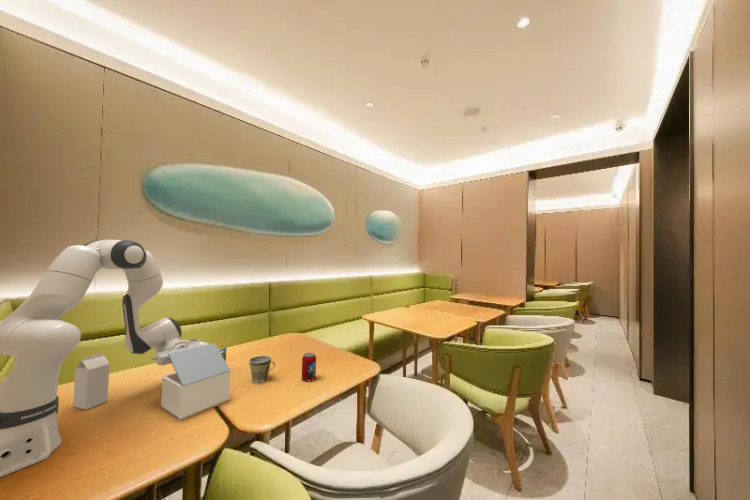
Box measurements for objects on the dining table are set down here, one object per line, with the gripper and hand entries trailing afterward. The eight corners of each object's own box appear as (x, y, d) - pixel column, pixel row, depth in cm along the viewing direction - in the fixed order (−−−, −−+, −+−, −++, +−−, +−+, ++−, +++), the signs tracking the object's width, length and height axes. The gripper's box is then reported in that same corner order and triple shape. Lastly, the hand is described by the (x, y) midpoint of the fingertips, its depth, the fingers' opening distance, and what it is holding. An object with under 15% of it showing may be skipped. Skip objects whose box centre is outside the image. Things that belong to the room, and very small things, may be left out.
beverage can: (312, 382, 136) (312, 357, 136) (299, 381, 137) (299, 356, 138) (317, 377, 142) (318, 352, 143) (305, 375, 144) (305, 351, 144)
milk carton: (107, 401, 114) (110, 353, 115) (85, 410, 107) (88, 359, 108) (95, 398, 116) (98, 351, 117) (72, 407, 109) (76, 357, 110)
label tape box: (218, 369, 149) (219, 346, 150) (225, 370, 149) (226, 346, 149) (207, 376, 140) (208, 351, 141) (215, 377, 140) (216, 351, 141)
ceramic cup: (243, 382, 134) (244, 361, 134) (257, 374, 144) (258, 354, 144) (268, 386, 131) (268, 364, 131) (280, 377, 141) (280, 357, 141)
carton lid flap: (168, 354, 110) (168, 353, 109) (214, 344, 124) (214, 343, 124) (182, 386, 102) (183, 385, 102) (229, 371, 117) (230, 370, 117)
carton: (159, 408, 110) (161, 376, 110) (209, 390, 126) (210, 362, 126) (178, 421, 101) (180, 387, 102) (230, 400, 117) (231, 370, 118)
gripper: (149, 349, 115) (165, 356, 107) (202, 338, 132) (219, 343, 124) (149, 365, 114) (164, 373, 107) (202, 352, 132) (218, 358, 124)
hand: (194, 357), depth 116 cm, fingers closed
